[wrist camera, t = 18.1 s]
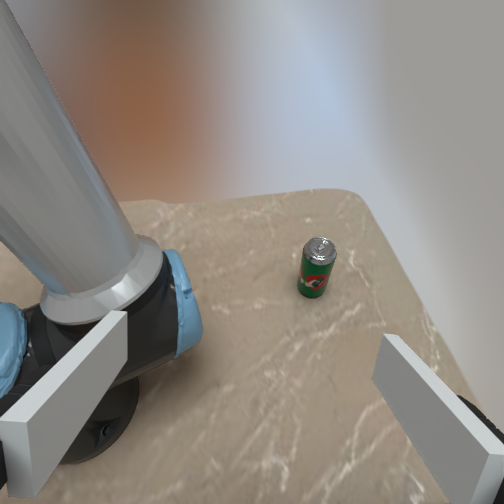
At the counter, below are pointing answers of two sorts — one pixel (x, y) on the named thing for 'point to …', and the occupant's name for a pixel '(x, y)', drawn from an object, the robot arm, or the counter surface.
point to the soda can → (316, 266)
